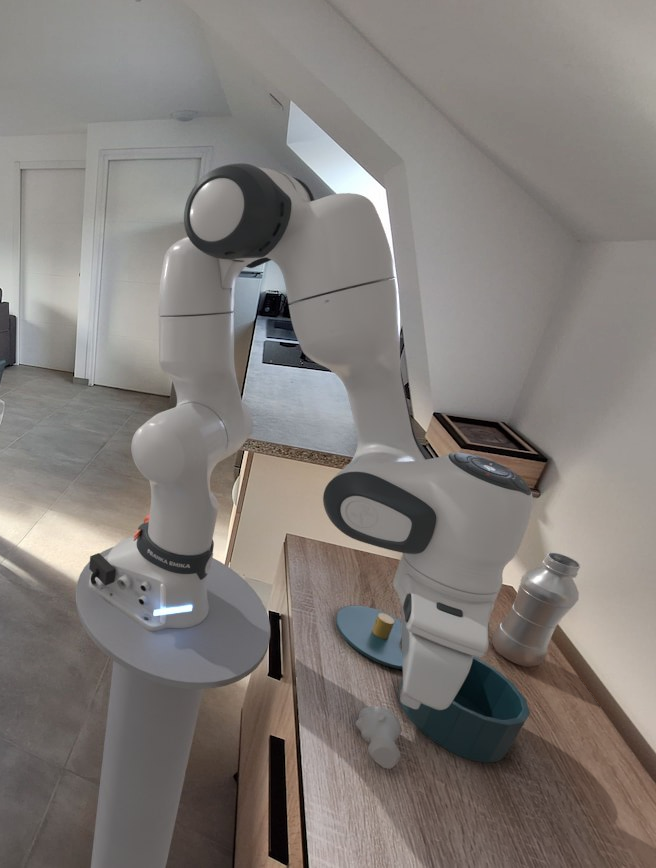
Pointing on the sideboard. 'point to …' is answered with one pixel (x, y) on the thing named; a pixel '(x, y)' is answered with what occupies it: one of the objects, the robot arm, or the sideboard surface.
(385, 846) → the sideboard surface
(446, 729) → the tin
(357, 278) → the robot arm
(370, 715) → the pale two-lobed sculpture
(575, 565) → the silver bottle
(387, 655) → the tin lid
